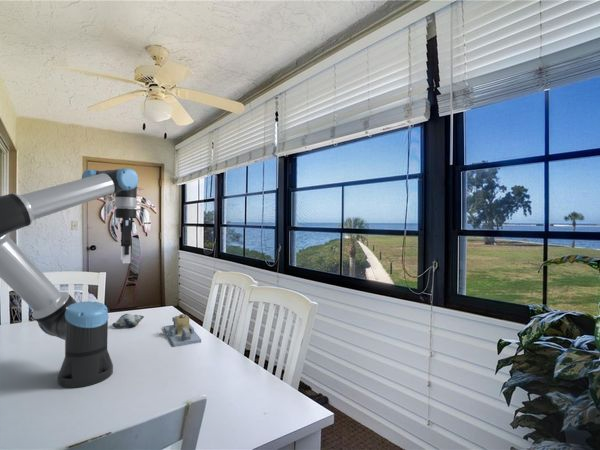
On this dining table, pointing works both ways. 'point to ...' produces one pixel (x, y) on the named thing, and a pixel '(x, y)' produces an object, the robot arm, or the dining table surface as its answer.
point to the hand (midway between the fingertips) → (125, 261)
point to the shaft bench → (181, 335)
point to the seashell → (128, 320)
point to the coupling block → (181, 323)
